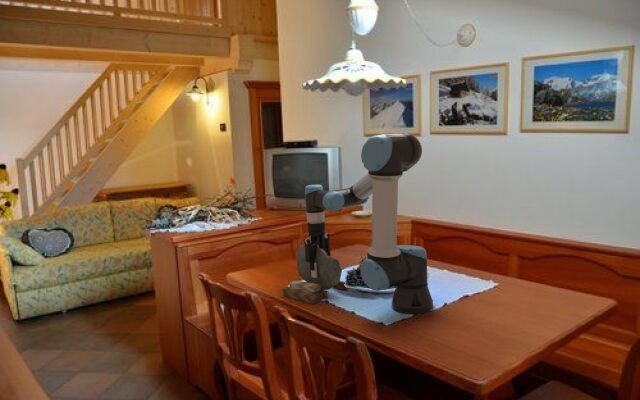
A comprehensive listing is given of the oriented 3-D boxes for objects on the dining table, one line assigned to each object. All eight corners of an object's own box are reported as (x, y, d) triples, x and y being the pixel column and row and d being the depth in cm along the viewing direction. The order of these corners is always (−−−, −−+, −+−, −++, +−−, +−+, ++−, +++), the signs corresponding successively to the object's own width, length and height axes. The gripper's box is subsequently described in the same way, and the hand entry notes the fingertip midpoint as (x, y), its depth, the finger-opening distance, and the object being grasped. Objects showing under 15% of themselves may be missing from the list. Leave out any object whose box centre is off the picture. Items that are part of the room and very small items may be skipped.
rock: (347, 295, 198) (344, 247, 195) (336, 299, 194) (333, 251, 191) (306, 283, 218) (302, 239, 215) (295, 287, 214) (291, 242, 211)
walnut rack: (349, 289, 206) (348, 282, 205) (313, 304, 191) (312, 296, 190) (319, 282, 218) (318, 276, 218) (283, 295, 203) (282, 288, 203)
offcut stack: (321, 298, 197) (320, 284, 196) (315, 301, 194) (314, 287, 193) (295, 293, 206) (294, 279, 205) (289, 296, 203) (288, 282, 202)
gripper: (324, 217, 211) (327, 269, 214) (293, 224, 198) (297, 279, 202) (337, 218, 206) (340, 271, 209) (306, 226, 193) (310, 282, 196)
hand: (319, 275), depth 205 cm, fingers closed on rock, 5 cm apart
